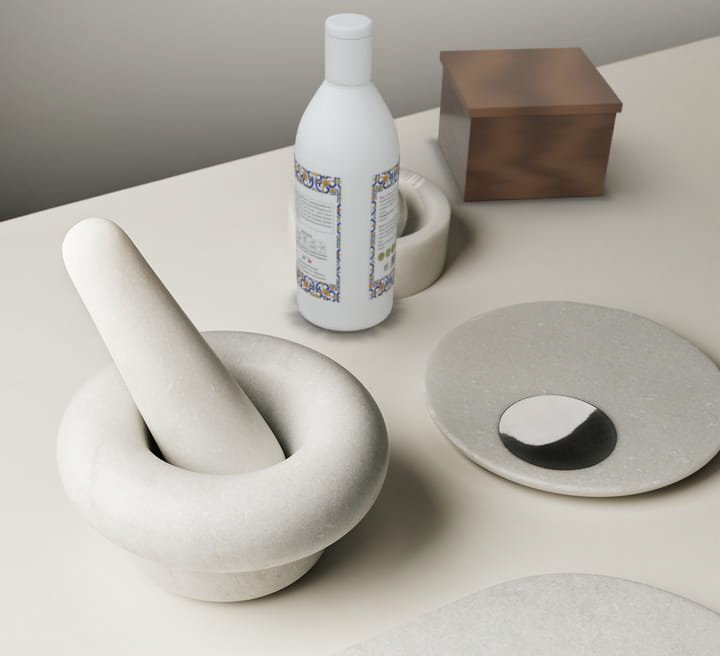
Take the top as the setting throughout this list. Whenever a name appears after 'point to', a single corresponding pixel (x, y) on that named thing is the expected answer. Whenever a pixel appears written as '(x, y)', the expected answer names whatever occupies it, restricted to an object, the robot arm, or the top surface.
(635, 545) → the top surface
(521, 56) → the walnut box
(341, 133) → the bath foam
